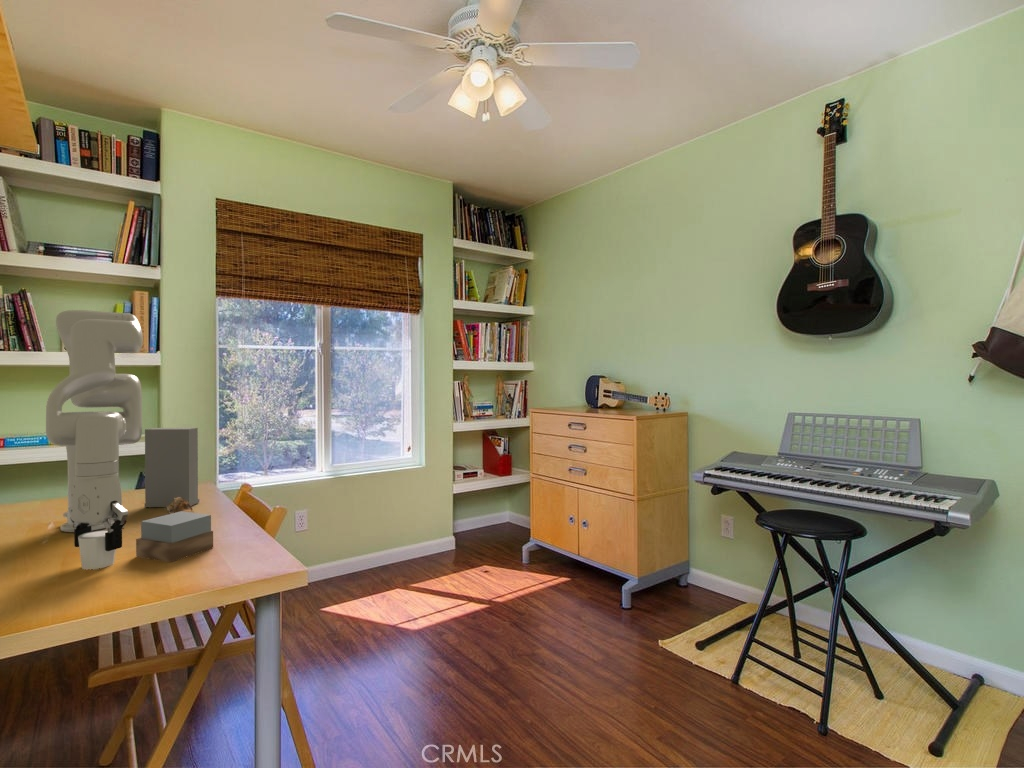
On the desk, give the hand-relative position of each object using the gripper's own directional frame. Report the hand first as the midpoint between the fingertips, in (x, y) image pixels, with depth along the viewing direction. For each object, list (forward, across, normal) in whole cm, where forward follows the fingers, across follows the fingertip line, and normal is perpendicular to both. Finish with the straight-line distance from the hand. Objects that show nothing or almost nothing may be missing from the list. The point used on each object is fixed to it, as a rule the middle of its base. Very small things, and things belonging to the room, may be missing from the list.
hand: (98, 547), depth 116 cm
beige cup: (+4, 0, 0) cm, 4 cm away
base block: (+4, +8, +12) cm, 15 cm away
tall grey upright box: (+3, -36, +46) cm, 58 cm away
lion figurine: (+4, -4, +24) cm, 24 cm away
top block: (0, +8, +12) cm, 15 cm away
